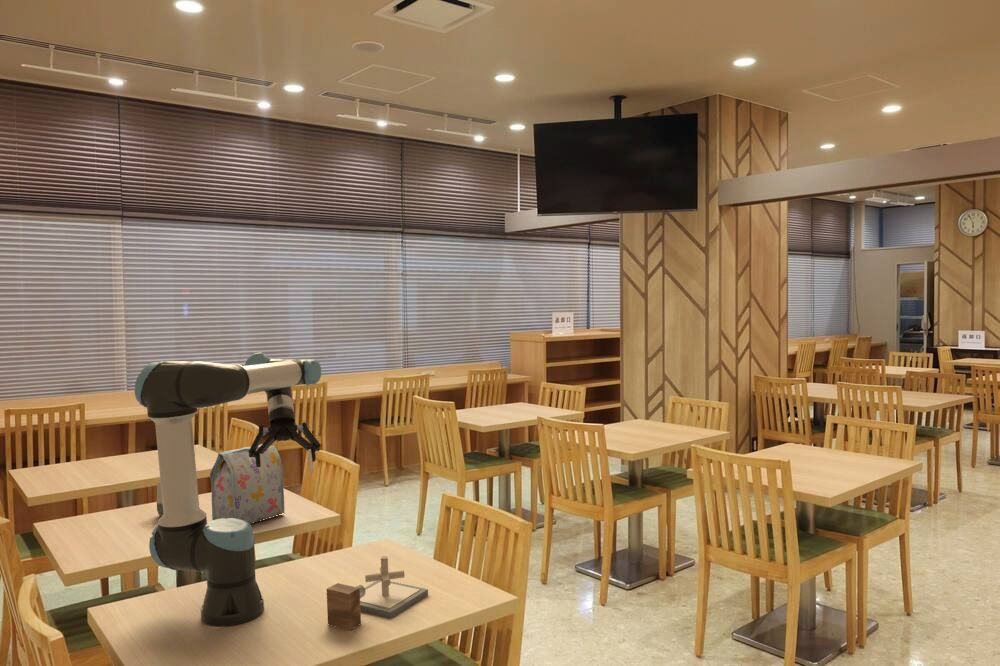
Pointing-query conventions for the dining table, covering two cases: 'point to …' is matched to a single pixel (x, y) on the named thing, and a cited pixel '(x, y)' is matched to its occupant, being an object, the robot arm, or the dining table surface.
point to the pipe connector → (384, 576)
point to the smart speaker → (159, 500)
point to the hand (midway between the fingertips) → (287, 473)
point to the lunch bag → (247, 486)
